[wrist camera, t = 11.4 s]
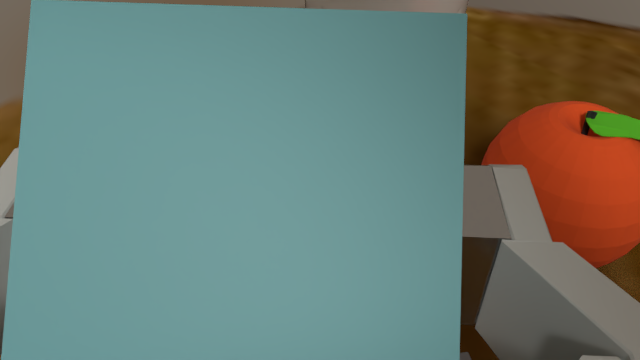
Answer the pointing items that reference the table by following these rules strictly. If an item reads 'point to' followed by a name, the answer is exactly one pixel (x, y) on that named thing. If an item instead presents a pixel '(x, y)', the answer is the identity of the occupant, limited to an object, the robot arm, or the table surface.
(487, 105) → the table surface
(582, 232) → the clementine
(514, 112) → the table surface
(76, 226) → the block
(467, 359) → the slate tile
